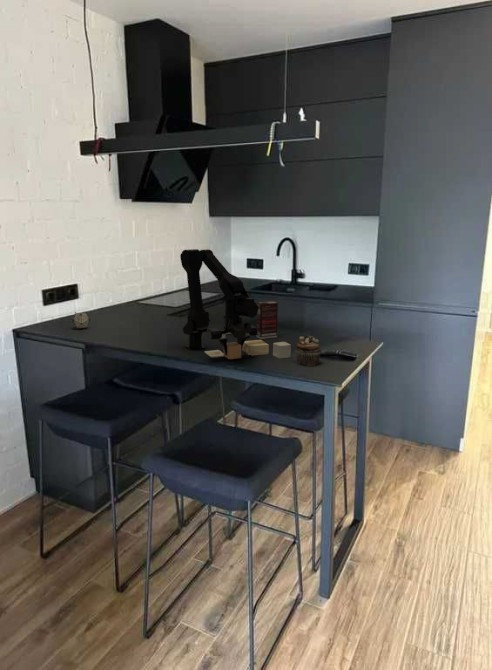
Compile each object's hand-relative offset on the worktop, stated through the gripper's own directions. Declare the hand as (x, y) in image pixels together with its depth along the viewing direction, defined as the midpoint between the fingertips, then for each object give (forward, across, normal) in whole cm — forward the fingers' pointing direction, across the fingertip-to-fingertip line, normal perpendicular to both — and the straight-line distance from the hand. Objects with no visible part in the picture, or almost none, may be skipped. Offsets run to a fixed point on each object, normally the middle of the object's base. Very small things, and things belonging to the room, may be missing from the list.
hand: (232, 354), depth 179 cm
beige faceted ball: (+2, -47, +72) cm, 86 cm away
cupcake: (+2, +24, -15) cm, 28 cm away
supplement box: (+2, +27, +25) cm, 37 cm away
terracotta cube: (+1, 0, 0) cm, 1 cm away
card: (+2, -4, +8) cm, 9 cm away
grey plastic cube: (+2, +19, -4) cm, 19 cm away
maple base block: (+2, +12, +5) cm, 13 cm away
